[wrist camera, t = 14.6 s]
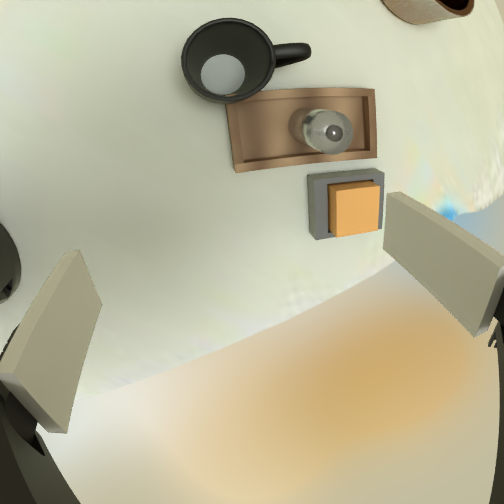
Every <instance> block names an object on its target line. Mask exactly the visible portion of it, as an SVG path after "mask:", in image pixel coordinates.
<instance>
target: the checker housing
mask: <svg viewBox="0 0 504 504" xmlns="http://www.w3.org/2000/svg"><path fill="white" fill-rule="evenodd" d="M359 180H370V181H372V182H373V183H375V184H377V185H379V186H380V197H379V217H378V229H382V218H383V200H384V173H383V172H381V171H379V170H377V169H363V170H352V171H342V172H332V173H322V174H313V175H307V182H308V202H309V226H310V233H311V235H312V236H313V237H314V238H315V240H320V239H325V238H331V237H336V236H335V235H334V234H333V233H332V232H331V231H330V230H329V229H328V196H327V184H332V183H341V182H350V181H359Z"/></svg>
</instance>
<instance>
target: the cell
mask: <svg viewBox="0 0 504 504" xmlns="http://www.w3.org/2000/svg"><path fill="white" fill-rule="evenodd" d="M288 127H289V131H290V134H291V135H292V137H293V138H294V139H296V140H297V141H299V142H301V143H303V144H306V145H308V146H310V147H312V148H314V149H317V150H319V151H321V152H323V153H325V154H329V155H336V154H340V153H342V152H343V151H345V150H346V149H347V148H348V147H349V145H350V144H351V142H352V139H353V127H352V124H351V122H350V120H349V119H348V118H347V117H346V116H345V115H344V114H342V113H341V112H338V111H332V110H324V109H315V108H300V109H298V110H296V111H295V112H294V113H293V114H292V115H291V117H290V119H289V124H288Z"/></svg>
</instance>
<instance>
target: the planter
mask: <svg viewBox="0 0 504 504" xmlns="http://www.w3.org/2000/svg"><path fill="white" fill-rule="evenodd" d="M382 1H383V2H384V3H385V5H386V6H387V7H388V8H389V9H390V10H391V11H392V12H393V13H394V14H395V15H397V16H398V17H399V18H401V19H403V20H404V21H407V22H409V23H412V24H426V23H431V22H436V21H441V20H446V19H452V18H458V17H465V16H468V15H469V14H470V13H471V12H472V10H473V8H474V0H382Z"/></svg>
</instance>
